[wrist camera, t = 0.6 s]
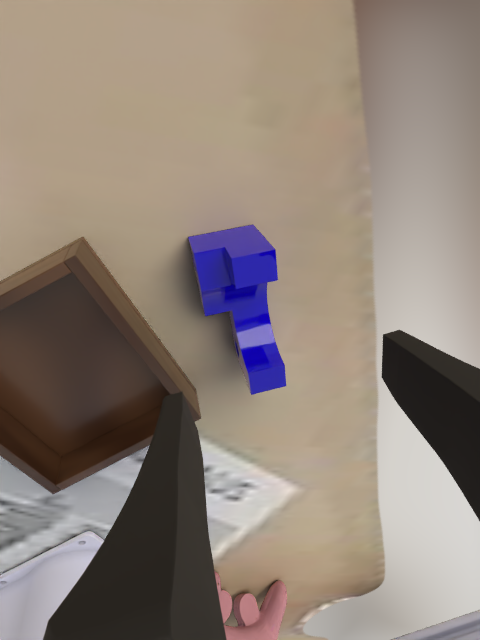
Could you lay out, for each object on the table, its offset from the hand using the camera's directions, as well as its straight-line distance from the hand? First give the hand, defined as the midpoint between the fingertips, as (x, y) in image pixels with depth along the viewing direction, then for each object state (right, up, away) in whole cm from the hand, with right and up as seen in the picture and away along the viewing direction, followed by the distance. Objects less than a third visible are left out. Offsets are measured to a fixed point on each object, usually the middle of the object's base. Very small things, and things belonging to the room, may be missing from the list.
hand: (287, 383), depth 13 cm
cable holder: (-2, +4, +9) cm, 10 cm away
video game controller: (-2, -25, +26) cm, 36 cm away
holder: (-11, 0, +9) cm, 14 cm away
